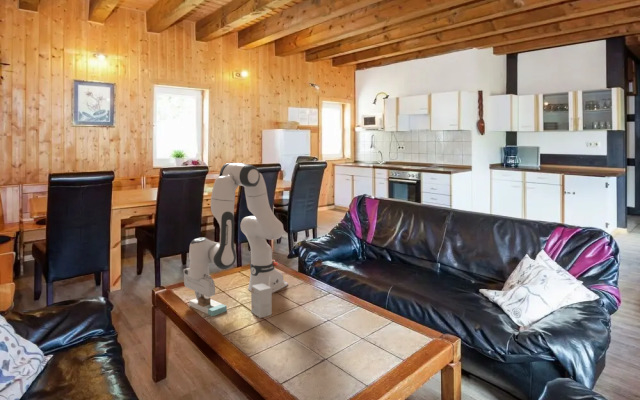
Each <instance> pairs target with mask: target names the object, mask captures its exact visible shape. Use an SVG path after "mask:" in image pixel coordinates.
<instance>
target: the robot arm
mask: <svg viewBox="0 0 640 400" xmlns="http://www.w3.org/2000/svg"><path fill="white" fill-rule="evenodd" d="M263 176H264V175H263V174H262V173H261V172H260V171H259V169H258V168H257V166H255V165H252V164H247V163H244V162H227V163H225V164H223V165H222V166H221V168H220V171H219V175H218V177H216V178H215V180H214V183H213V187H212V191H211V196H210V212H211V214H212V215H213V217H214V218H215V219H216V221H217V223H218V225H219V241H218V242H216V241H213V240H210V239H209V238H207V237H203V236H202V237H197V238H193V239H192V240H191V242H190V244H189V252H188V258H189V267H188V268H187V267H186V268H184V269H183V274H184V275H183V284H184V287H185V288H187V289H189V290H192V291H194V294H195V297H196V298H195V299H196V300H198V298H200V297H203V296H207V297H210V298H211V297H212V296H213V297H214V296H215V294H216V286H215V285H216V284H215V280H214V279H213V277H212V276H210V264H214V265H215V266H216V267H217V268H218V269H220V270H227V269H230V268H231V267H233V265H234V264H235V262H236V260H237V254H236V251H235V245H234V244H235V204H236V203H235V201H236V191H237V189H238V187H241V186H242V187H243V188H244V194H245V200H246V207H247V209H248V211H249V212H250V213H251V214H252V215H249V216H245V217H243V218H242V219H241V220H240V221H241V222H240V231H241V232H242V233H243V234H244V236H245V237H246V240H247V241H248V244H249V247H250V261H251V262H249V263H250V275H249V283H248V287H247V290H248V291H250V292H251V286H252V285H257V284H261V283H263V284H265V285H267V286H269V287H271V288H272V294H273V293H275V292H278V291H279V290H282V289H284V288H285V287H286V286H288V284H289V283H288V282H287V281H286V280H284V275H283V273H282V272H280V271H279V270H278V269H276V268H275V267H277V266H278V265H279V263H278V262H275V261H274V262H273V248H272V247H271V245H270V244H268V242H267V240H269V241H270V240H279V239H280V238H281V237H282V236H283V234H284V224H283V223H282V221H281V220H279V219H278V218H277V217H276V215H275V214H274V212H273V210H272V209H271V206H270V201H269V196H268V190H267V185H266V182H265V179H264V177H263Z"/></svg>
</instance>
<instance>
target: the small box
mask: <svg viewBox="0 0 640 400" xmlns="http://www.w3.org/2000/svg"><path fill="white" fill-rule="evenodd" d="M250 292H251V295H250V296H251V303H250V304H251V306H250V308H251V310H250V311H251V313H252V314H254V315H255V316H257V317H258V318H260V319H261V318H265V317H268V316H271V315H272V312H273V311H272V308H273V307H272V305H273V304H272V303H273V302H272V301H273V297H272V295H273V293H272V288H271V287H269V286H267V285H265V284H263V283H261V284H257V285H252V286H251V291H250Z"/></svg>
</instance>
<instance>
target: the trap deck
mask: <svg viewBox="0 0 640 400" xmlns="http://www.w3.org/2000/svg"><path fill="white" fill-rule="evenodd" d="M188 302H189V306H190V307H192V308H194V309H196V310H198V311H200V312H203V313H204V314H206V315H208V316H210V317H214V316H217V315H219V314H222V313H225V312H227V311H228V308H227V305H226V304H223V303H221V302H219V301H216V300H214V299H213V298H212V299H211V298H210V305H207V306H204V307H202V306H200V305H198V300H196V298H193V299H190V300H189V301H188Z"/></svg>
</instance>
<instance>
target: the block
mask: <svg viewBox="0 0 640 400" xmlns="http://www.w3.org/2000/svg"><path fill="white" fill-rule="evenodd" d="M210 299H211V296H210V297H208V296H205V295H204V296H203V297H200V298H198V305H200V306H202V307H204V306H207V305H210Z"/></svg>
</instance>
